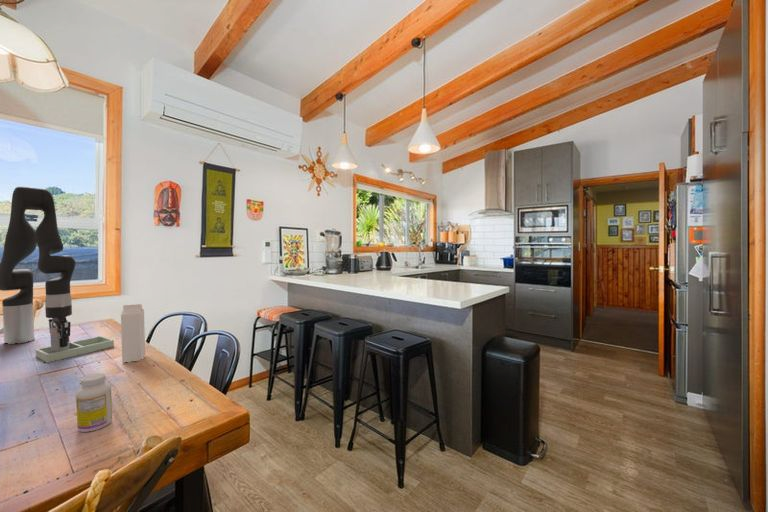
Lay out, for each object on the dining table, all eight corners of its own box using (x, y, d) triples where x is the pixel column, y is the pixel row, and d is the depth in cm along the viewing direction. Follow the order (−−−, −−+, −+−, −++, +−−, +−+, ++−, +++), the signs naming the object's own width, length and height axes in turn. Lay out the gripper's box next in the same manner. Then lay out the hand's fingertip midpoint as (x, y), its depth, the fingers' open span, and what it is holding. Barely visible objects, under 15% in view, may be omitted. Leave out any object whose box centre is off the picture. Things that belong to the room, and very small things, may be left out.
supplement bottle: (92, 418, 85) (90, 371, 85) (118, 418, 86) (117, 371, 85) (69, 434, 79) (67, 382, 78) (98, 432, 79) (96, 382, 79)
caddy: (36, 356, 129) (35, 349, 129) (101, 342, 147) (100, 335, 147) (47, 362, 123) (47, 354, 123) (113, 346, 142) (113, 339, 142)
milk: (141, 361, 126) (139, 305, 124) (121, 363, 123) (120, 306, 122) (145, 356, 131) (144, 302, 130) (127, 357, 129) (125, 303, 127)
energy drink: (73, 353, 133) (72, 324, 133) (59, 357, 128) (58, 328, 127) (62, 352, 134) (60, 324, 133) (47, 357, 128) (46, 327, 128)
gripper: (38, 304, 130) (40, 345, 131) (53, 308, 123) (54, 351, 124) (63, 301, 137) (65, 340, 137) (78, 305, 130) (80, 345, 131)
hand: (60, 345), depth 131 cm, fingers open, 6 cm apart
